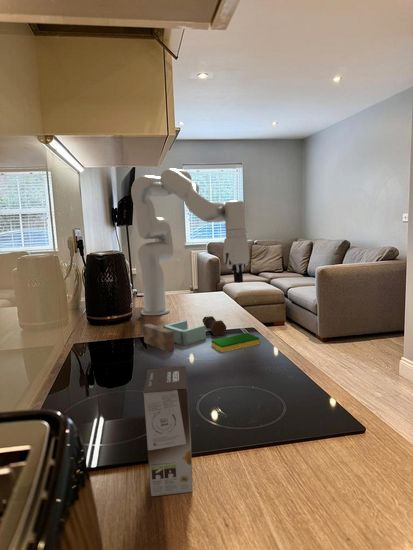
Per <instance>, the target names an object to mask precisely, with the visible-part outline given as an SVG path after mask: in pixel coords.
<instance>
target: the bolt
mask: <svg viewBox="0 0 413 550" xmlns="http://www.w3.org/2000/svg"><path fill="white" fill-rule="evenodd" d="M202 325H204V326H205V329H208V330H209V329H210V331H211V333H212V334H213V335H214V336H217V337H218V336H223V335H224V334H225V332H226V330H227V329H228V328H227V326H226V324H225V323H224V321H223V320H222V319H221V320H216V319H215V317H214V316H212V315H211V316H204V317H203V318H202Z"/></svg>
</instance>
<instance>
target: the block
mask: <svg viewBox="0 0 413 550" xmlns="http://www.w3.org/2000/svg"><path fill="white" fill-rule="evenodd" d="M162 328H164V329H168V330H171V331H173V333H174V344H177V345H182V346H186V345H189V344H193V343H196V342H199V341H201V340H202V341H203V340H206V339H207V338H206V337H207V336H206V335H207V333H206V327H205V325H204V324H201V325H197V326H193V327H189V328H188V320H186V319H184V320H180V321H177V322H176V321H175V322H172V323H169V324H165V325H162Z"/></svg>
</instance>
